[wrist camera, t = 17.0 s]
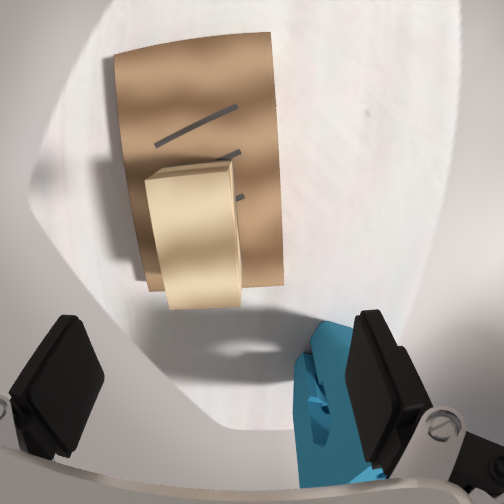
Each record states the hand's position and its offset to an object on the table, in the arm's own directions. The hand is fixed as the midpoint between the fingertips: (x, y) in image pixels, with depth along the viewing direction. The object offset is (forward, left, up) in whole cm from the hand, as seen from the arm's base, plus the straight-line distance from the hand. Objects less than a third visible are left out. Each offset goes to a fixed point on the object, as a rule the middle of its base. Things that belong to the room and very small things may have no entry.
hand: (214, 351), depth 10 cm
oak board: (-3, -3, -22) cm, 23 cm away
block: (+20, +9, -23) cm, 32 cm away
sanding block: (+2, -3, -20) cm, 21 cm away
